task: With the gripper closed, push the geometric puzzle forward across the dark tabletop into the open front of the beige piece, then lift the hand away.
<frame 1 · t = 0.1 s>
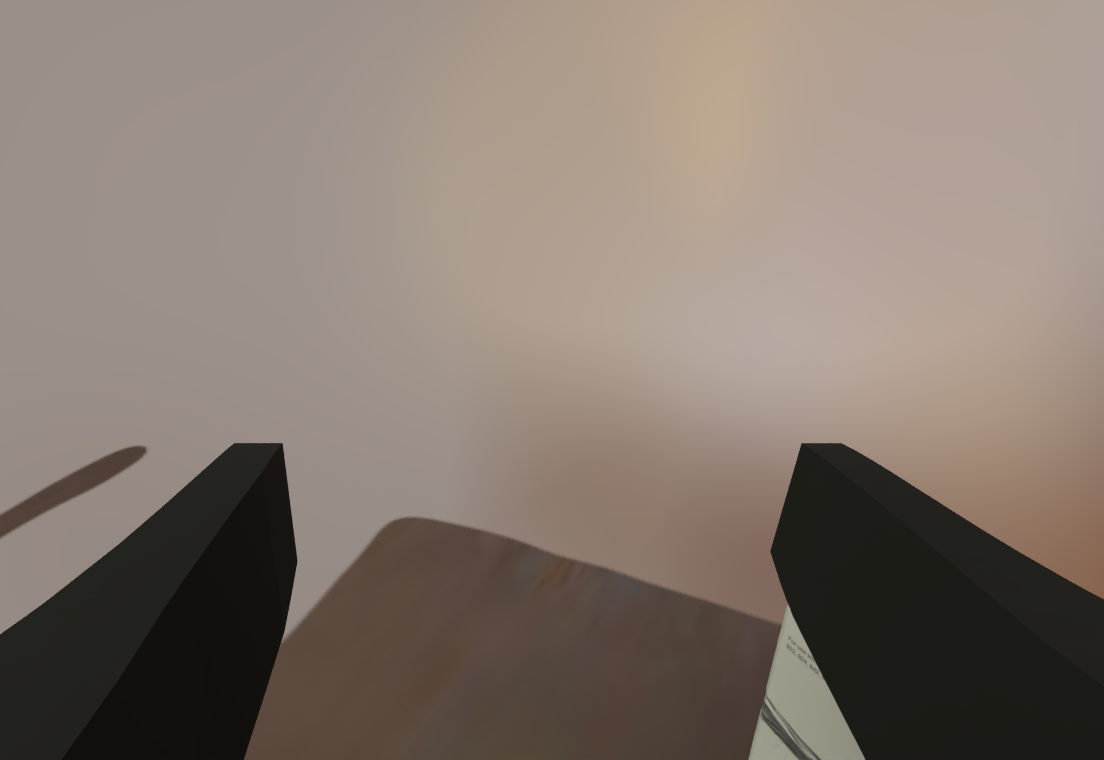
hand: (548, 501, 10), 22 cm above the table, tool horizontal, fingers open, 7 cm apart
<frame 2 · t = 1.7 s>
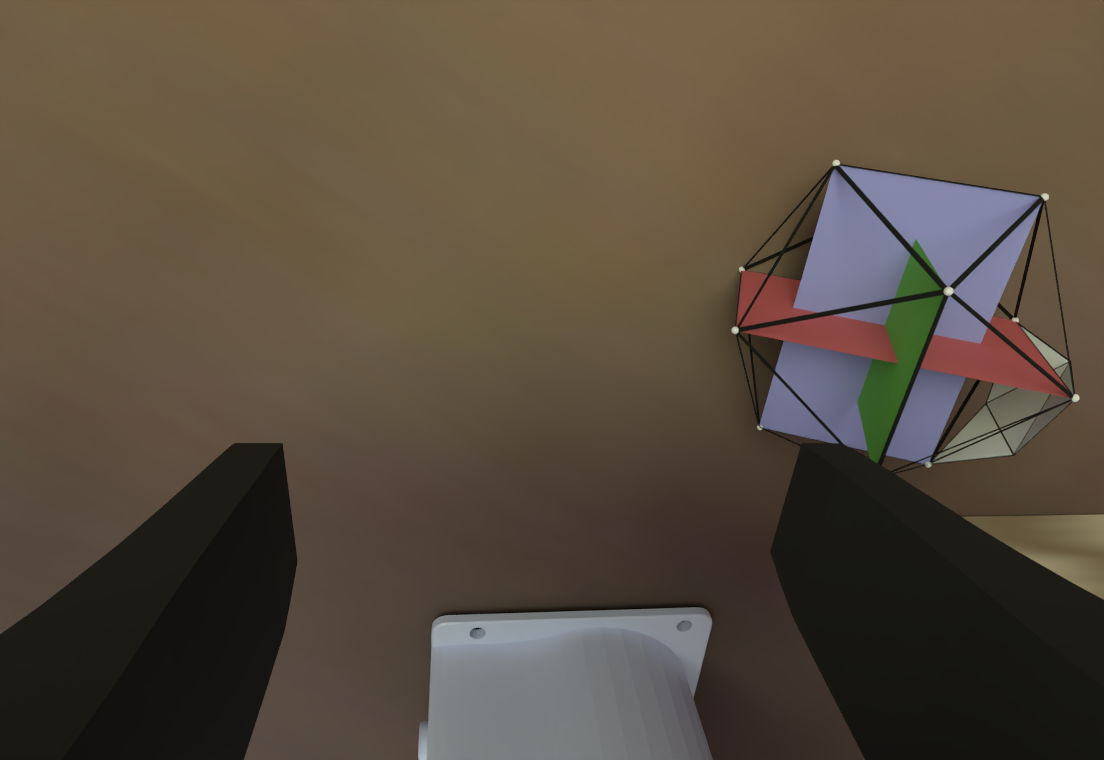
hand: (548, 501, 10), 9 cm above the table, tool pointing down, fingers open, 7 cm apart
geometric puzzle: (821, 272, 20), on the table
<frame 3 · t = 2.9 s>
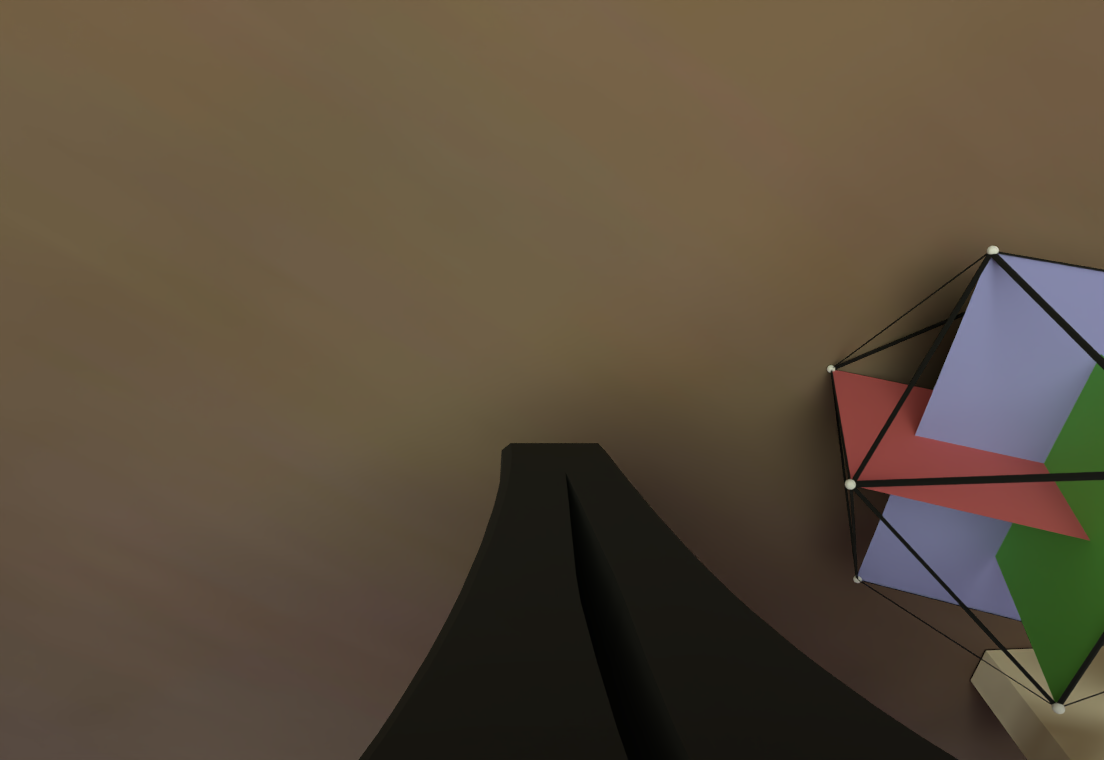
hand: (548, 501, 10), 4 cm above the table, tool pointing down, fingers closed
geometric puzzle: (930, 368, 15), on the table
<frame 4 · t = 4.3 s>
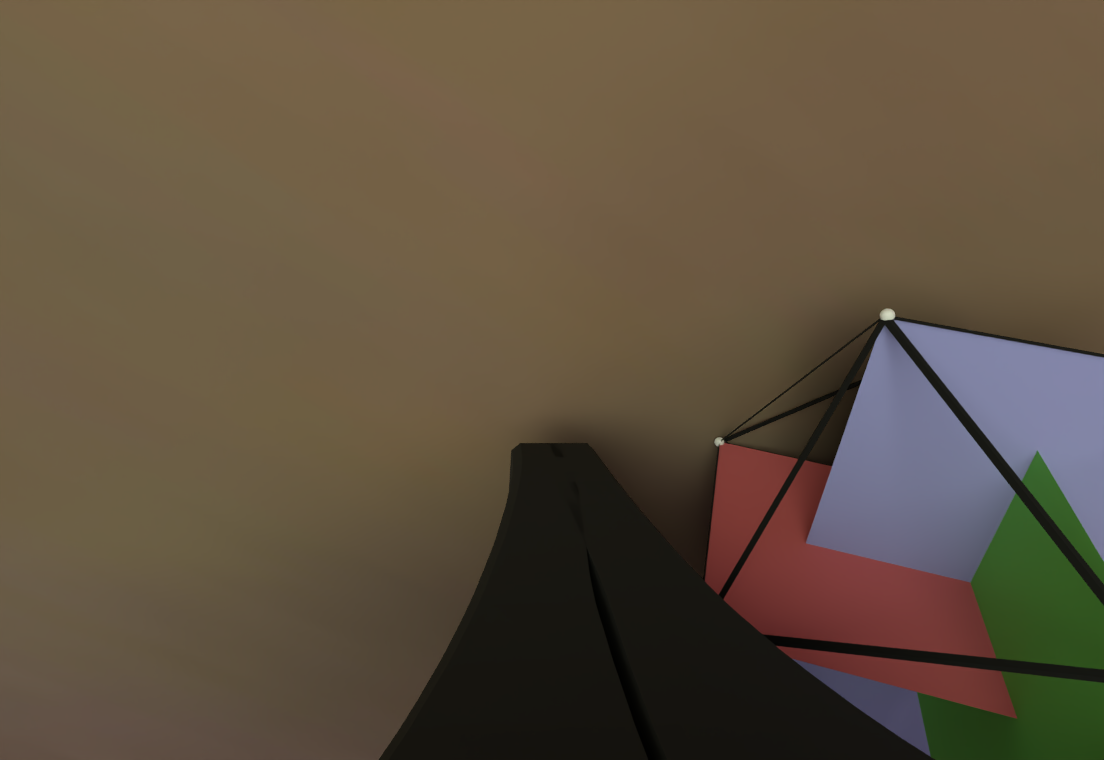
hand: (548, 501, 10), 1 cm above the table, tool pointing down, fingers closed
geometric puzzle: (847, 436, 12), on the table, touching gripper
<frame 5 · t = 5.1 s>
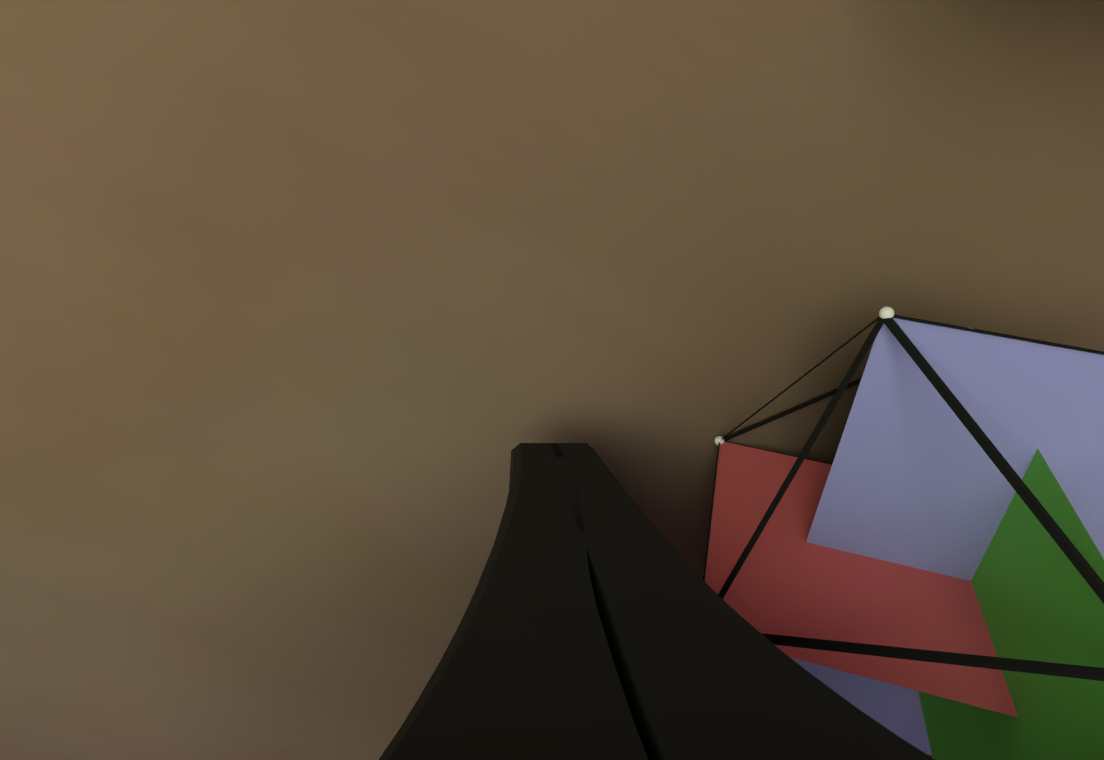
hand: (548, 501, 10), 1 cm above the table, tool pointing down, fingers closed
geometric puzzle: (848, 434, 12), on the table, touching gripper
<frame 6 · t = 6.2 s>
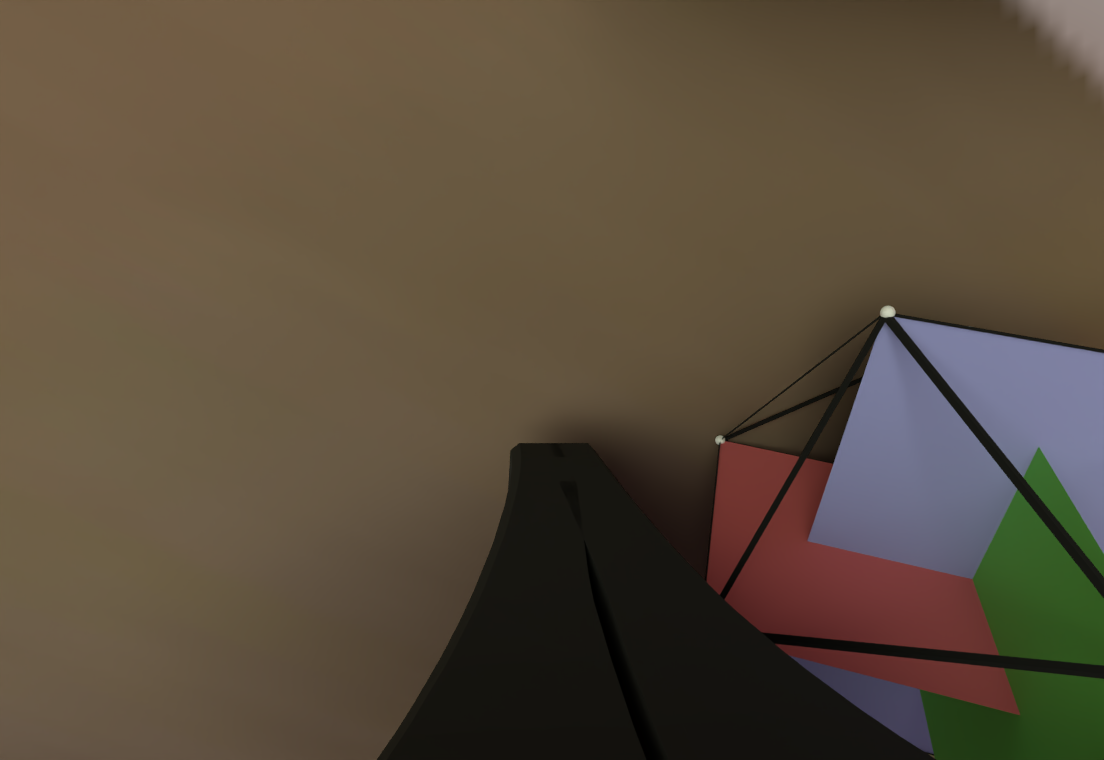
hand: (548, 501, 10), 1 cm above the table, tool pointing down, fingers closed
geometric puzzle: (848, 433, 12), on the table, touching gripper
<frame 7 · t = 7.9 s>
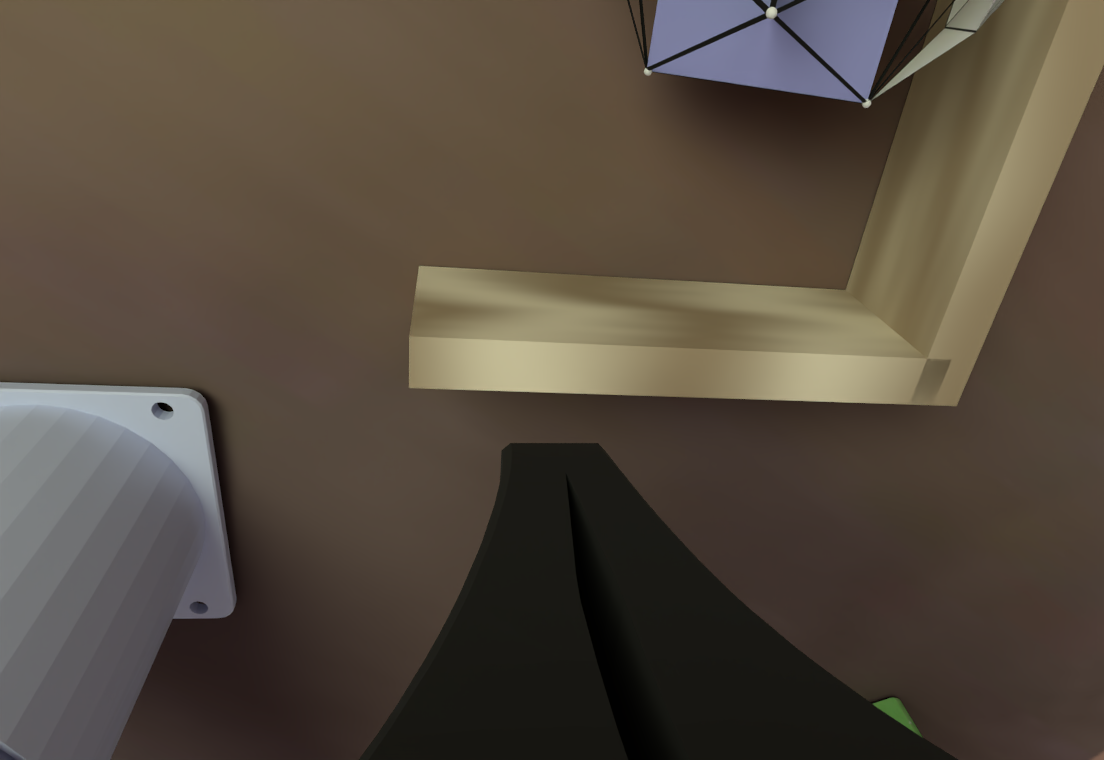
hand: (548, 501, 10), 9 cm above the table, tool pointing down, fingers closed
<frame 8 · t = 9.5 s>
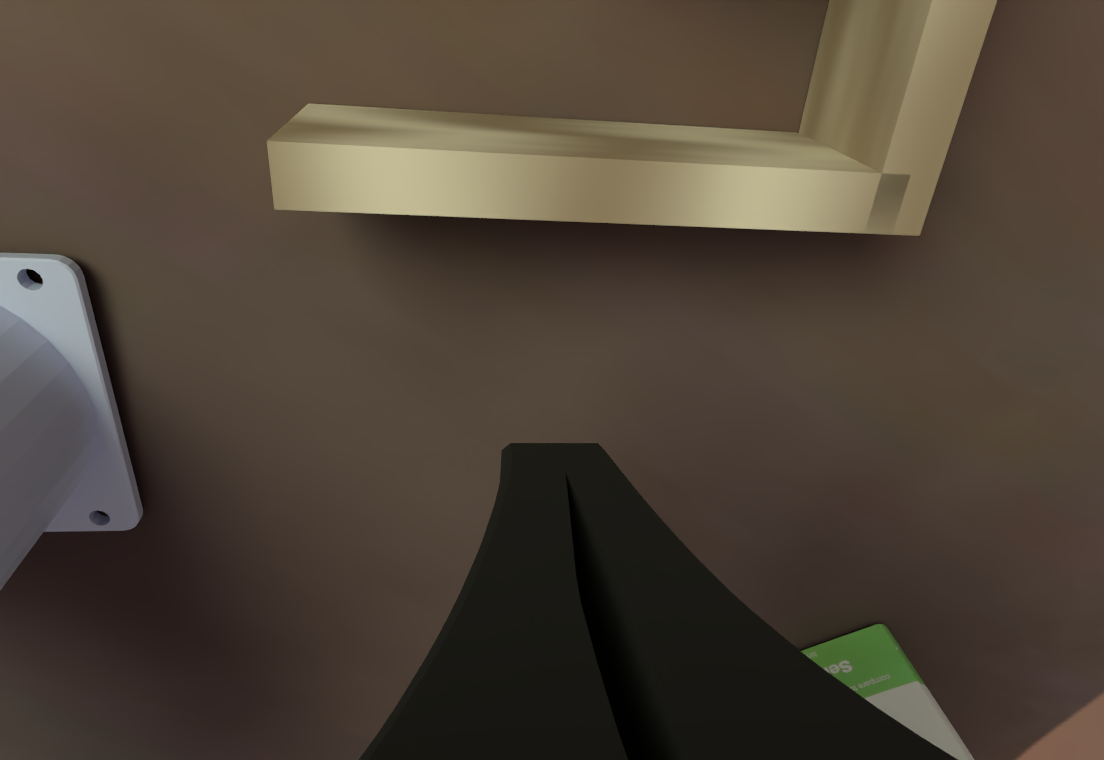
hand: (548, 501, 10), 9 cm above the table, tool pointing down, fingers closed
ink box: (837, 700, 29), on the table
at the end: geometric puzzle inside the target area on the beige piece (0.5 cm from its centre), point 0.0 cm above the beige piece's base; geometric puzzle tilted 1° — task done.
